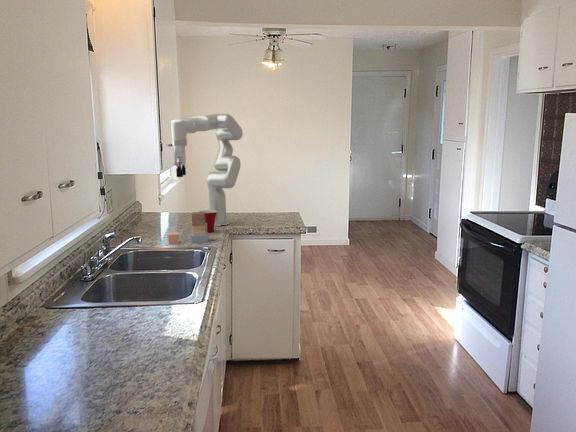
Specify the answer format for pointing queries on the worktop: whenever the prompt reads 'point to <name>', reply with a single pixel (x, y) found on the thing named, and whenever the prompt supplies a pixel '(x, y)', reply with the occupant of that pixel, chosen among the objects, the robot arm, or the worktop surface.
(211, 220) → the plastic cup
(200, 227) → the oak block
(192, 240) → the base block
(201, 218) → the walnut cube
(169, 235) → the terracotta block
